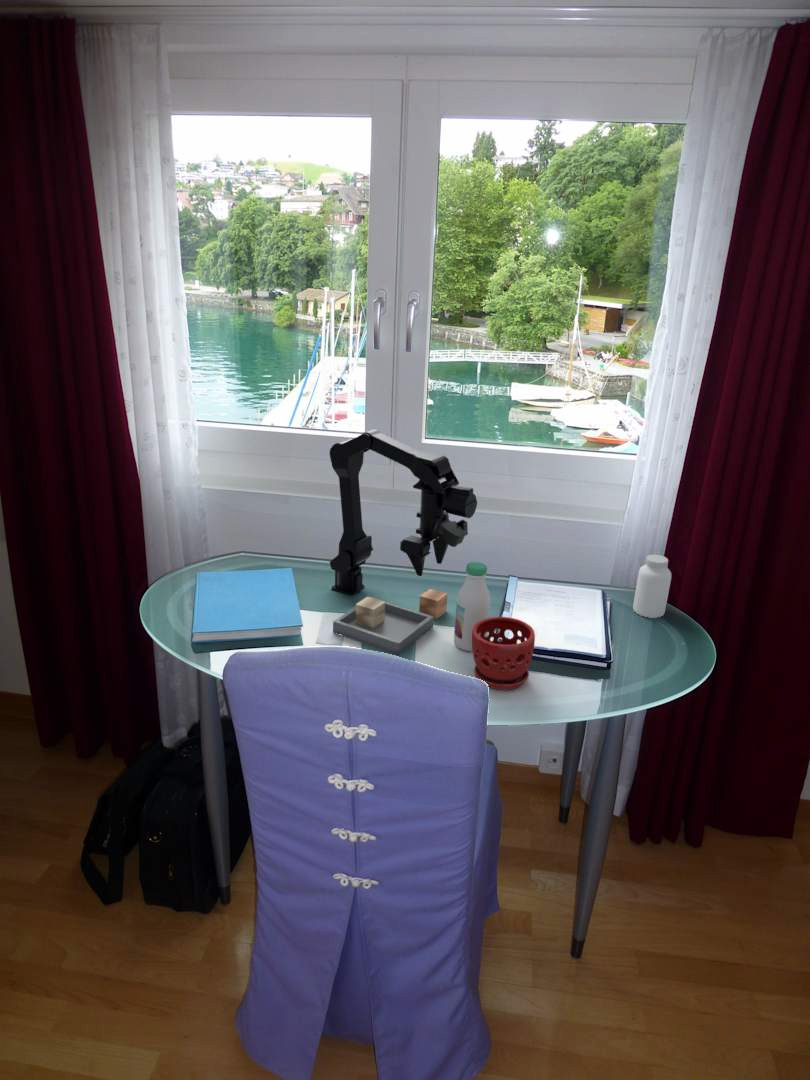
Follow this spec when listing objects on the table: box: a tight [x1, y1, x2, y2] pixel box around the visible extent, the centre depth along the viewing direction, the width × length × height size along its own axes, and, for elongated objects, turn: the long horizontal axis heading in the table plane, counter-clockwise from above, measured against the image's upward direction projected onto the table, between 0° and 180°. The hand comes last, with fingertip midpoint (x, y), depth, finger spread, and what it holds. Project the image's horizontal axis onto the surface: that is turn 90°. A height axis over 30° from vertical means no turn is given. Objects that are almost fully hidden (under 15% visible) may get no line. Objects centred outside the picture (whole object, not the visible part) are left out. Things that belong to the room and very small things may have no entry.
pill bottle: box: [632, 554, 672, 619], centre depth 206 cm, size 8×8×15 cm
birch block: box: [355, 596, 386, 629], centre depth 194 cm, size 5×5×5 cm
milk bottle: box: [453, 561, 491, 653], centre depth 185 cm, size 8×8×20 cm
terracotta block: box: [418, 588, 448, 620], centre depth 202 cm, size 5×5×5 cm
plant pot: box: [472, 616, 536, 690], centre depth 173 cm, size 13×13×12 cm
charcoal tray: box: [332, 596, 435, 656], centre depth 193 cm, size 18×16×3 cm
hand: (429, 569), depth 197 cm, fingers open, 9 cm apart
